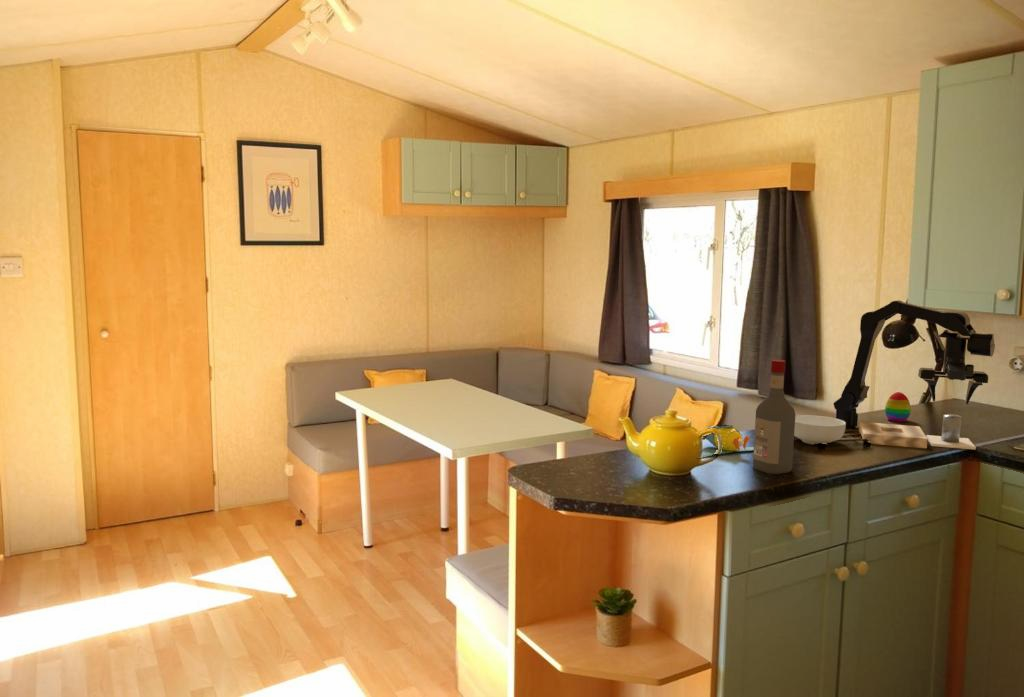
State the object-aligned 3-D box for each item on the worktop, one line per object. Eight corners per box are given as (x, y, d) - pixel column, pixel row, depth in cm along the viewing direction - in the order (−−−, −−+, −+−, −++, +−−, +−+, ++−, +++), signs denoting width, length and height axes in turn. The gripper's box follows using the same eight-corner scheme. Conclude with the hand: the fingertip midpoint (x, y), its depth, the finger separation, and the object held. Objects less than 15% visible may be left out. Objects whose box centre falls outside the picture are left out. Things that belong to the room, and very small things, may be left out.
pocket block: (862, 443, 265) (863, 433, 264) (858, 430, 282) (859, 421, 281) (926, 448, 259) (927, 438, 259) (918, 435, 276) (919, 426, 276)
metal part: (942, 441, 264) (944, 416, 263) (940, 438, 269) (942, 413, 268) (960, 443, 263) (962, 417, 262) (957, 439, 268) (959, 414, 267)
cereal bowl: (856, 444, 262) (857, 422, 262) (820, 451, 254) (821, 428, 253) (810, 433, 277) (812, 412, 276) (775, 439, 268) (776, 417, 267)
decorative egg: (915, 422, 296) (917, 394, 295) (894, 423, 294) (896, 394, 293) (899, 417, 304) (901, 389, 303) (879, 418, 302) (881, 390, 301)
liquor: (772, 475, 227) (778, 364, 223) (747, 467, 235) (753, 359, 231) (797, 471, 231) (803, 361, 227) (771, 463, 239) (778, 357, 235)
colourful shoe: (704, 433, 238) (671, 423, 252) (703, 463, 239) (670, 452, 253) (781, 425, 250) (746, 416, 264) (779, 454, 251) (745, 443, 265)
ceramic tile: (931, 446, 262) (932, 443, 262) (926, 437, 274) (926, 434, 274) (975, 449, 259) (975, 447, 259) (967, 440, 270) (968, 438, 270)
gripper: (925, 354, 259) (920, 404, 261) (994, 358, 253) (989, 410, 255) (920, 349, 269) (916, 398, 271) (986, 353, 263) (981, 403, 266)
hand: (950, 402), depth 266 cm, fingers open, 9 cm apart
